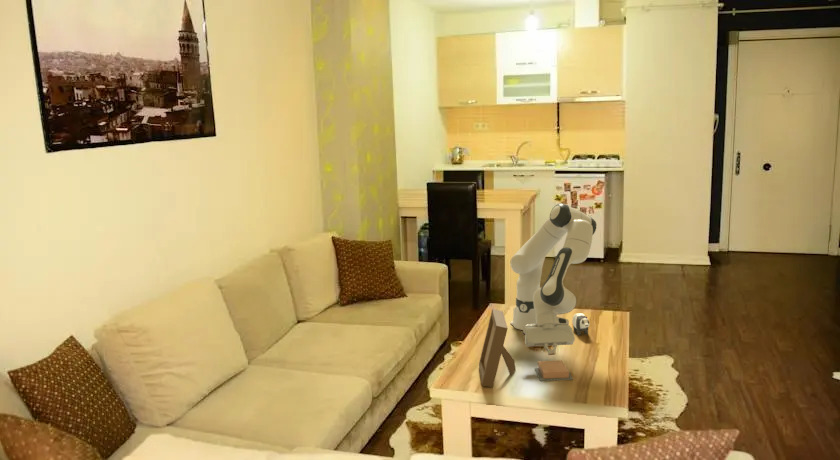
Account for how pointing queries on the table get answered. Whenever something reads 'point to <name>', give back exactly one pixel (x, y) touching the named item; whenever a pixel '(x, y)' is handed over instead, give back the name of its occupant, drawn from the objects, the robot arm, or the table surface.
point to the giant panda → (580, 323)
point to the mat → (551, 378)
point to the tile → (553, 369)
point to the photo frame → (494, 349)
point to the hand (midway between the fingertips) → (551, 354)
